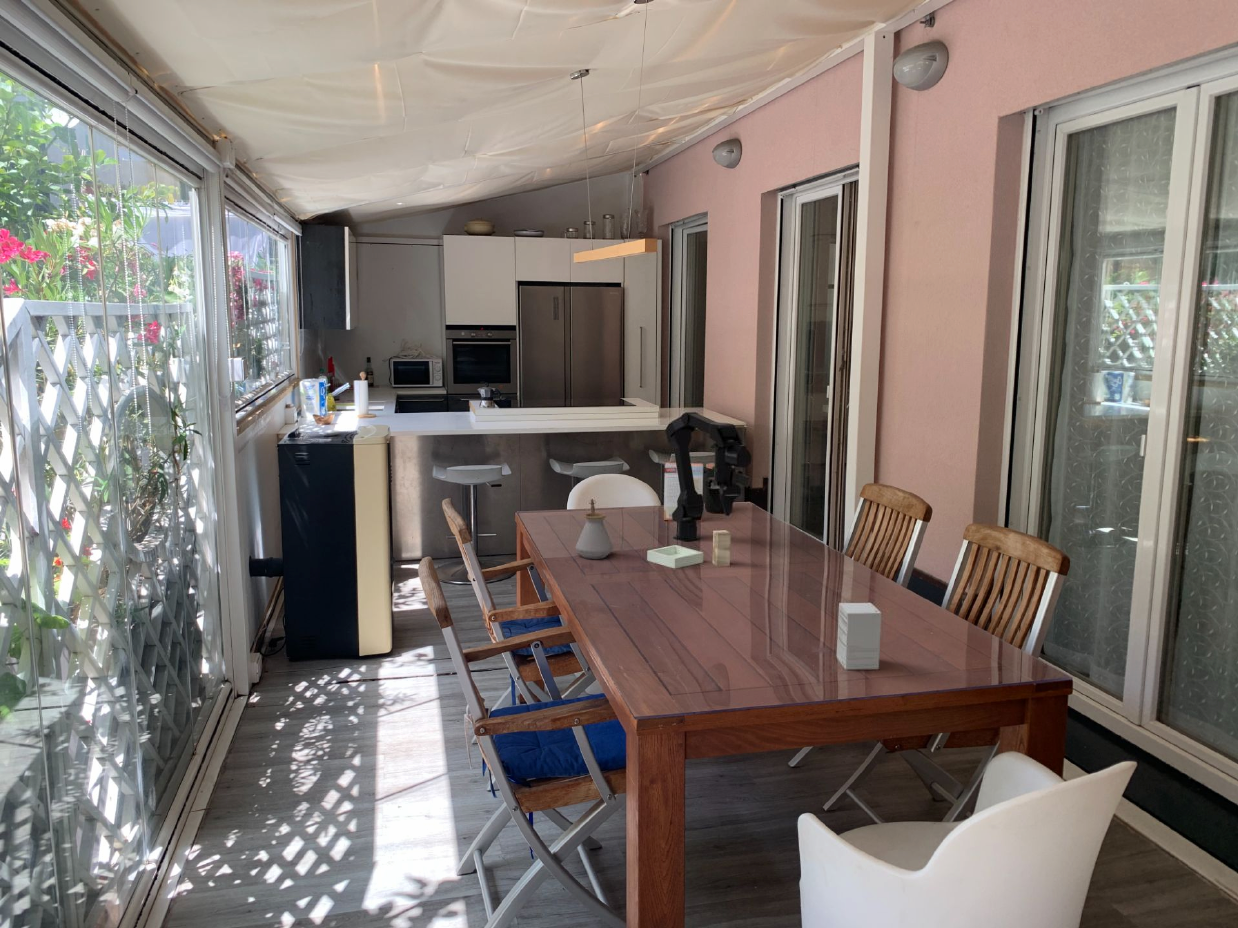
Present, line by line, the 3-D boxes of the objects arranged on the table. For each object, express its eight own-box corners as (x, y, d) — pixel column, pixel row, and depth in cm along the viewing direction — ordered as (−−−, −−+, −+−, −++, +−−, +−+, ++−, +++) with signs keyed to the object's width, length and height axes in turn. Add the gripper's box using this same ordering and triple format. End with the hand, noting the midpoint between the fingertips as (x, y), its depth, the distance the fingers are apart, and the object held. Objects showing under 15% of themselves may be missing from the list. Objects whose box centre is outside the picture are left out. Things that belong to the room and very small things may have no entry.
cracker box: (702, 518, 346) (703, 462, 343) (702, 522, 341) (703, 465, 337) (664, 517, 348) (665, 461, 345) (663, 520, 342) (664, 464, 339)
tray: (647, 560, 286) (647, 550, 286) (675, 554, 294) (675, 544, 293) (674, 568, 277) (674, 558, 277) (703, 562, 285) (703, 552, 284)
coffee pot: (614, 560, 285) (614, 512, 283) (576, 560, 284) (576, 512, 282) (609, 543, 306) (609, 498, 304) (574, 543, 305) (574, 498, 303)
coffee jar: (733, 514, 355) (735, 467, 352) (705, 513, 355) (706, 466, 353) (731, 508, 366) (732, 463, 363) (703, 508, 366) (704, 462, 363)
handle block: (712, 563, 284) (713, 530, 283) (724, 562, 285) (725, 530, 284) (716, 566, 280) (717, 533, 279) (729, 565, 281) (730, 533, 280)
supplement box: (868, 657, 206) (872, 602, 205) (879, 670, 199) (882, 612, 197) (835, 657, 206) (838, 601, 204) (844, 670, 199) (847, 612, 197)
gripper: (758, 467, 287) (757, 517, 289) (738, 459, 305) (737, 507, 307) (723, 468, 284) (722, 519, 286) (705, 460, 303) (704, 508, 305)
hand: (722, 513), depth 296 cm, fingers open, 9 cm apart
